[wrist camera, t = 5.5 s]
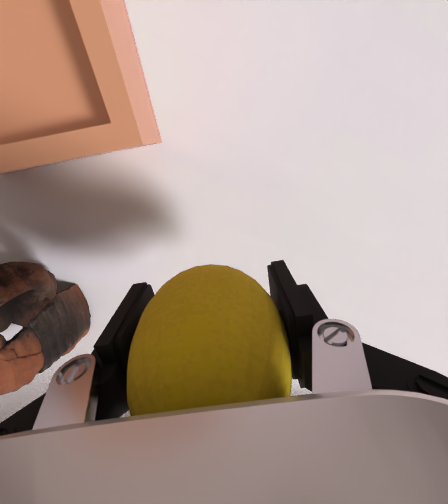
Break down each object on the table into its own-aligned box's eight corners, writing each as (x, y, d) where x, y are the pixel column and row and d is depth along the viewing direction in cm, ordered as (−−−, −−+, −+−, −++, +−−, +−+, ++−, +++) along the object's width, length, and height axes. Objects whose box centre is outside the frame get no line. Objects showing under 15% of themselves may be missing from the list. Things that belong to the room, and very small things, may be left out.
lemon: (234, 340, 14) (250, 554, 7) (145, 304, 13) (46, 514, 6) (287, 266, 12) (392, 454, 5) (188, 217, 11) (120, 361, 4)
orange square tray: (89, -131, 9) (6, -311, 6) (161, 142, 14) (142, 145, 10) (-145, -75, 10) (-370, -208, 6) (-1, 174, 14) (-78, 187, 10)
